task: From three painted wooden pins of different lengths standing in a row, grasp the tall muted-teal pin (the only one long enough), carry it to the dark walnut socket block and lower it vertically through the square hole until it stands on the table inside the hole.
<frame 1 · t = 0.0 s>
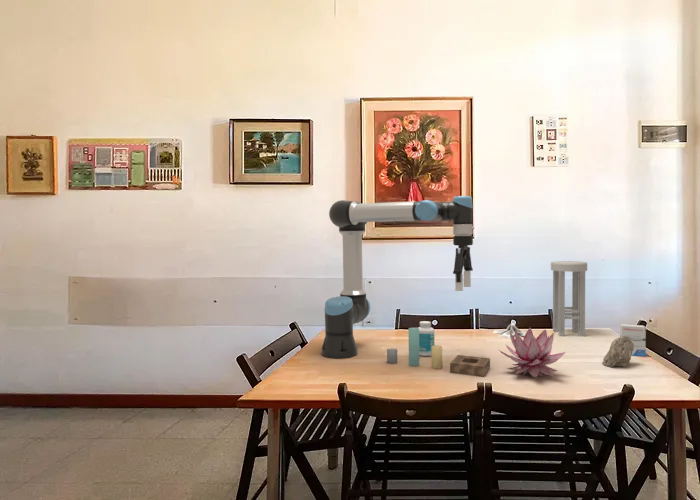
hand: (463, 288, 187), 28 cm above the table, fingers open, 13 cm apart
pill bottle: (425, 354, 195), on the table
cloth: (512, 335, 231), on the table
socket block: (470, 370, 173), on the table
medium pin: (436, 367, 176), on the table
long pin: (414, 364, 180), on the table
ink box: (632, 354, 191), on the table
short pin: (392, 362, 184), on the table
stool: (568, 334, 229), on the table
rock: (618, 365, 177), on the table
decorative flower: (531, 374, 168), on the table
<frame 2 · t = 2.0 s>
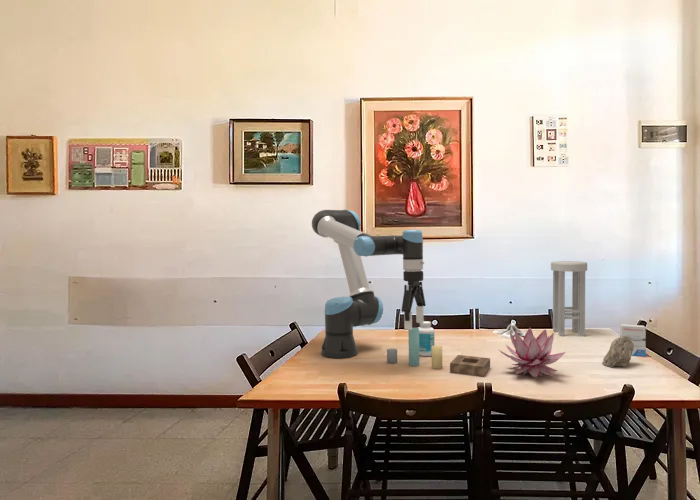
hand: (414, 326, 179), 15 cm above the table, fingers open, 13 cm apart
nothing on the table moved.
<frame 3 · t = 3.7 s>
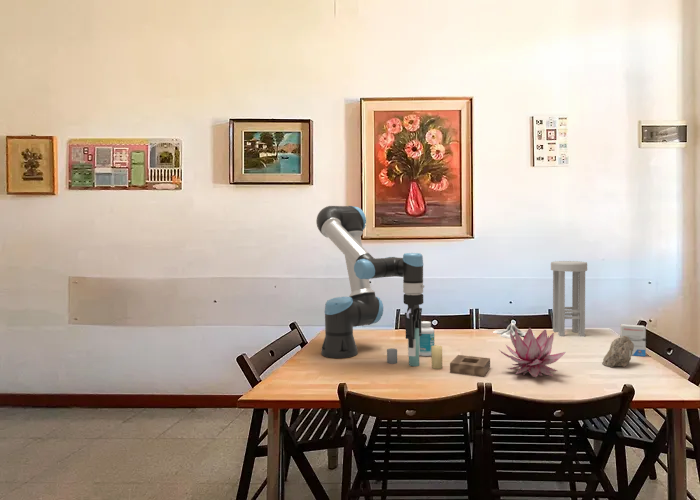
hand: (413, 354, 180), 4 cm above the table, fingers closed on long pin, 4 cm apart
long pin: (414, 364, 180), on the table, touching gripper
everything else where it was.
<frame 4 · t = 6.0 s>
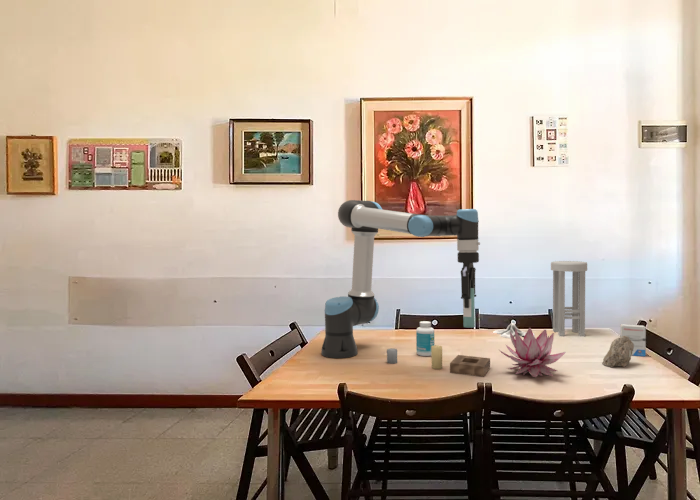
hand: (468, 315, 172), 20 cm above the table, fingers closed on long pin, 4 cm apart
long pin: (469, 326, 172), point 16 cm above the table, touching gripper
everything else where it was.
when the fingers open (5 cm above the table, at t = 8.4 s): long pin stays where it is, resting in socket block.
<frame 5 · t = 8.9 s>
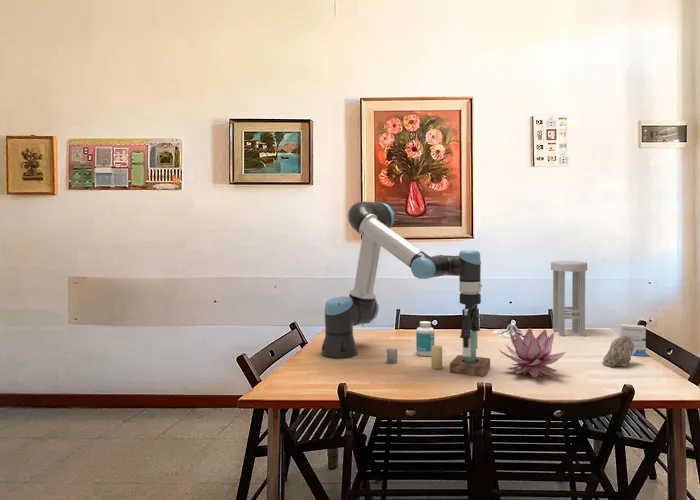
hand: (470, 352, 172), 7 cm above the table, fingers open, 11 cm apart
long pin: (470, 370, 173), resting in socket block
everything else where it was.
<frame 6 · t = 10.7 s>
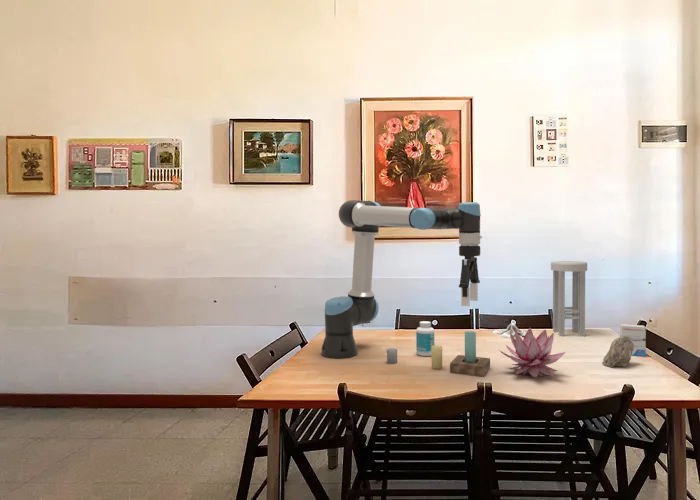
hand: (469, 303, 172), 25 cm above the table, fingers open, 13 cm apart
nothing on the table moved.
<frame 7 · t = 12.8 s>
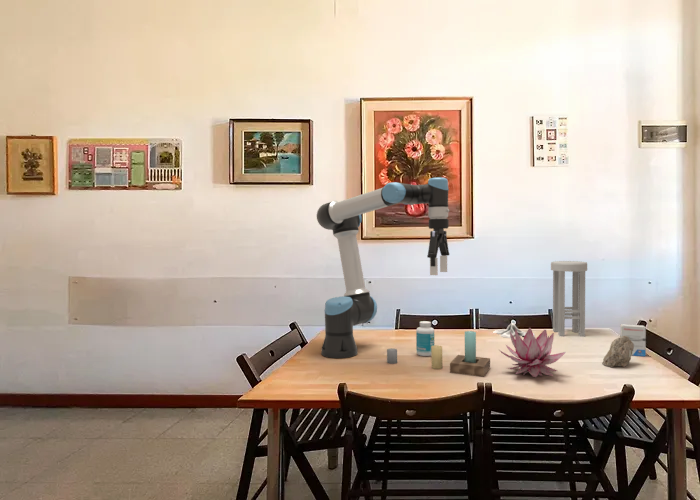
hand: (438, 273, 182), 35 cm above the table, fingers open, 13 cm apart
nothing on the table moved.
at the end: long pin 0.0 cm off-centre in the socket block, point 0.0 cm above the socket block's base; long pin tilted 0°; the gripper is holding nothing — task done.
